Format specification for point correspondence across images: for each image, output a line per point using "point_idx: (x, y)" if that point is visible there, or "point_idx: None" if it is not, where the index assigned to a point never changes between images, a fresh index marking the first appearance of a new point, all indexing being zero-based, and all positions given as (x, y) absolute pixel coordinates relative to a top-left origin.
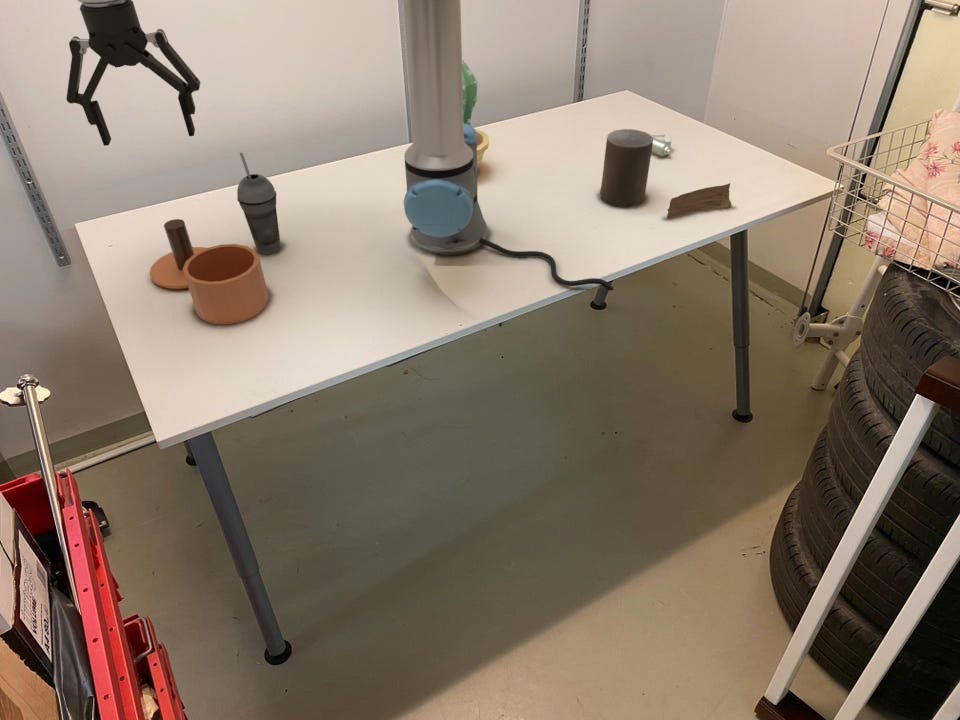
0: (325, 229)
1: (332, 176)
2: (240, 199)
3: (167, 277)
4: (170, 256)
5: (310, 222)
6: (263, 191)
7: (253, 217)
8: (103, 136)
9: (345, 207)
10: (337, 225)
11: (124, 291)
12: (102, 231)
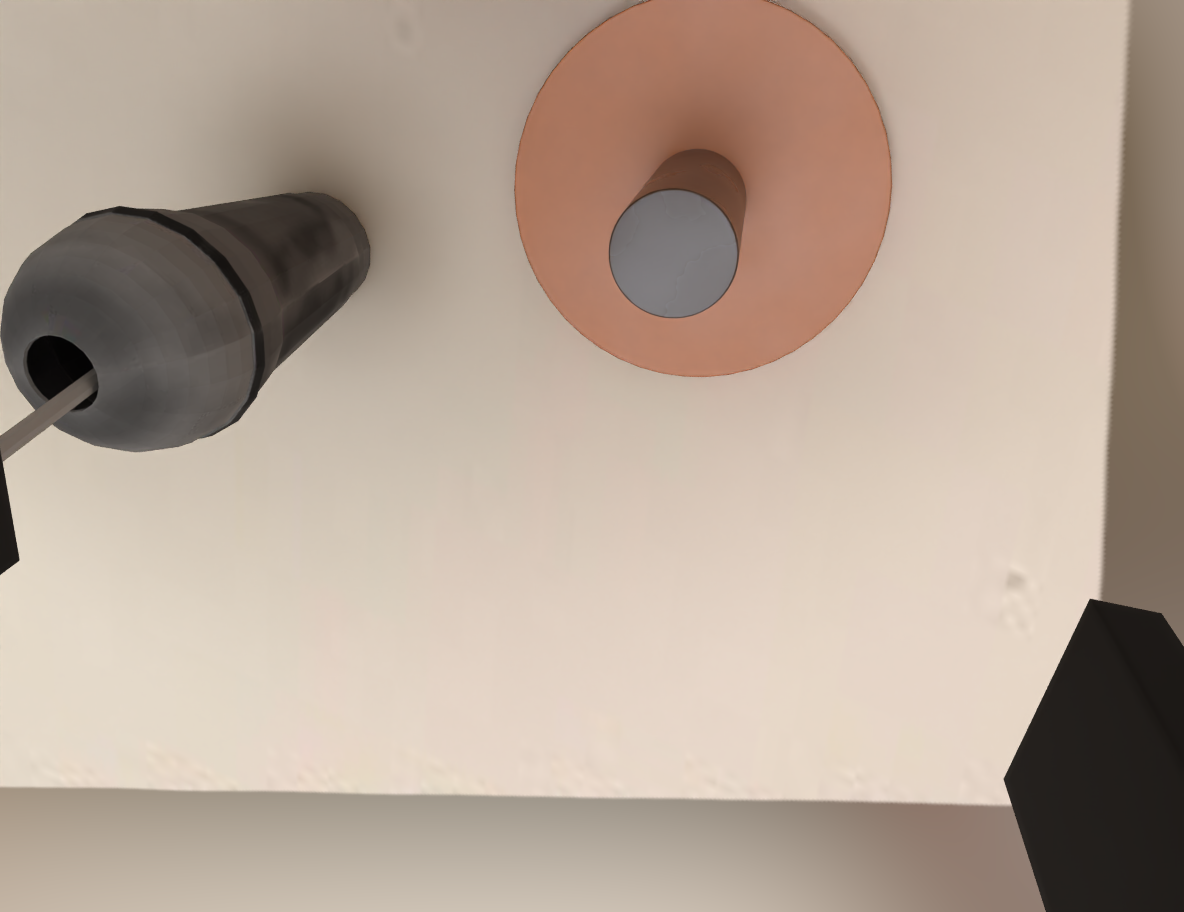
0: None
1: (69, 705)
2: (227, 293)
3: (810, 121)
4: (765, 327)
5: None
6: (41, 248)
7: (236, 228)
8: (1176, 702)
9: None
10: None
11: (1043, 127)
12: (1022, 713)
